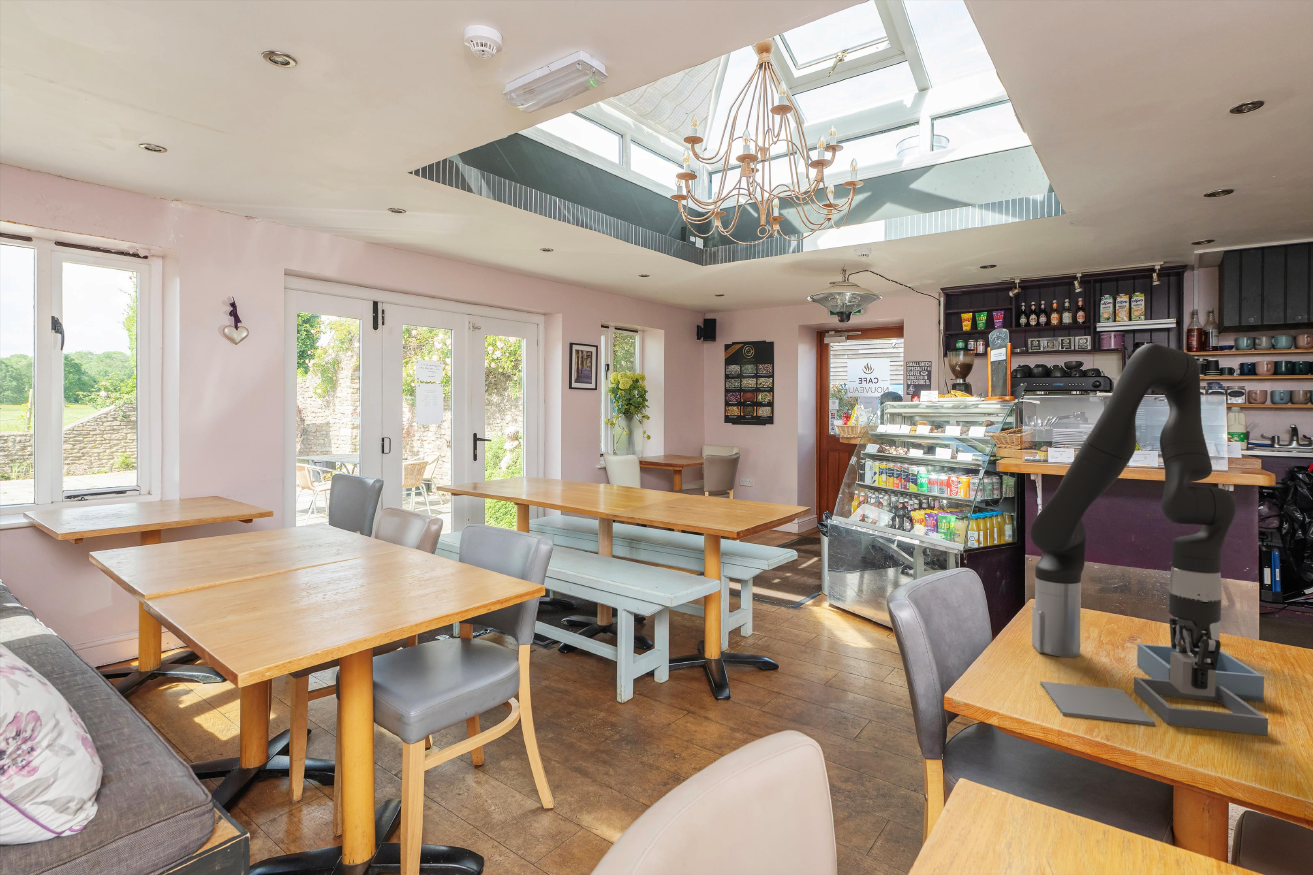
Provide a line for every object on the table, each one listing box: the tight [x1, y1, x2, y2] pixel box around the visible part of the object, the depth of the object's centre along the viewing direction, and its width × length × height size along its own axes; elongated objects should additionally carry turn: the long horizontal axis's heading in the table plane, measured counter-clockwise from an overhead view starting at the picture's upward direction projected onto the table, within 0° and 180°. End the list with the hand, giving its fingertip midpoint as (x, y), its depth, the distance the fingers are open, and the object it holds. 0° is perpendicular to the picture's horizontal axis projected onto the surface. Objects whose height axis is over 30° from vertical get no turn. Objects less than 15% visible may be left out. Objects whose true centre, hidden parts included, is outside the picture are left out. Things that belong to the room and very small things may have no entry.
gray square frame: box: [1133, 676, 1269, 737], centre depth 120 cm, size 15×15×3 cm
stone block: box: [1170, 652, 1216, 697], centre depth 120 cm, size 5×5×6 cm
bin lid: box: [1039, 681, 1156, 726], centre depth 124 cm, size 15×15×1 cm
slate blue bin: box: [1136, 643, 1265, 703], centre depth 133 cm, size 16×15×5 cm
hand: (1191, 681), depth 120 cm, fingers closed on stone block, 5 cm apart
